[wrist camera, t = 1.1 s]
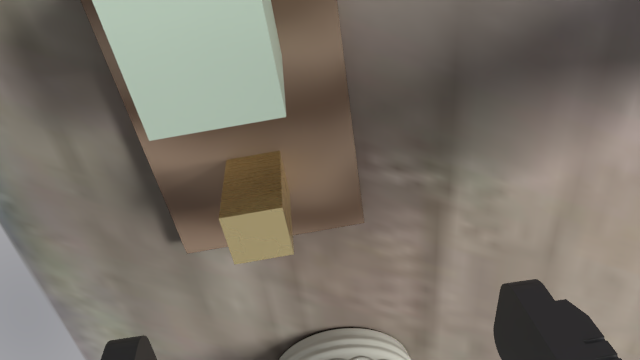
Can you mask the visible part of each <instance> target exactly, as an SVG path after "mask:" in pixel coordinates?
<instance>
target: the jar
mask: <svg viewBox="0 0 640 360" xmlns="http://www.w3.org/2000/svg"><path fill="white" fill-rule="evenodd" d="M279 360H411V358H410V357H409V355H408V352H407V351H406V349H405V348H404V346H403V345H402V344H401V343H400V342H399V341H397V340H396V339H394V338H393V337H391V336H389V335H387V334H384V333H381V332H378V331H374V330H369V329H361V328H343V329H334V330H329V331H325V332H321V333H318V334H315V335H312V336H310V337H307V338H305V339H303V340H301V341H299V342H298V343H296V344H295V345H293V346H292V347H290V348H289V349H288V350H287V351H286V352H285V353H284V354H283V355H282V356H281V357H280V359H279Z"/></svg>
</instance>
